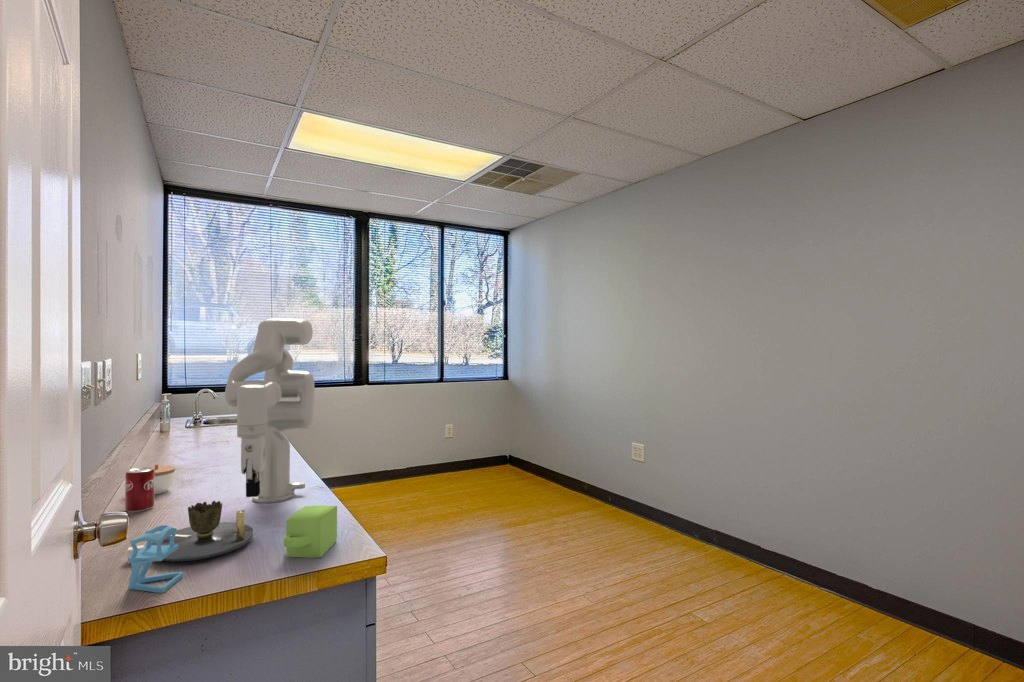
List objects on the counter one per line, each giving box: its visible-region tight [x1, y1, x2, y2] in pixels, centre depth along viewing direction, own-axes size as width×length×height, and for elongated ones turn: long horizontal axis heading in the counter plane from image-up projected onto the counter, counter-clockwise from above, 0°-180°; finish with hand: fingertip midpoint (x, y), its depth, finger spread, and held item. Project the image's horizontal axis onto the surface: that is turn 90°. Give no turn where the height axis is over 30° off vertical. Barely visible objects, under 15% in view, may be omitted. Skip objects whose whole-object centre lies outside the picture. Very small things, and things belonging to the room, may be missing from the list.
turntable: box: [151, 509, 254, 562], centre depth 126 cm, size 22×22×8 cm
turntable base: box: [127, 544, 145, 564], centre depth 124 cm, size 22×14×3 cm, turn 125°
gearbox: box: [282, 505, 338, 559], centre depth 127 cm, size 18×10×10 cm, turn 178°
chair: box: [127, 525, 184, 594], centre depth 107 cm, size 8×8×12 cm
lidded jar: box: [150, 463, 176, 495], centre depth 173 cm, size 11×11×9 cm
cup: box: [187, 500, 223, 539], centre depth 127 cm, size 8×7×8 cm
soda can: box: [124, 466, 155, 513], centre depth 156 cm, size 7×7×12 cm
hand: (253, 495), depth 140 cm, fingers closed
